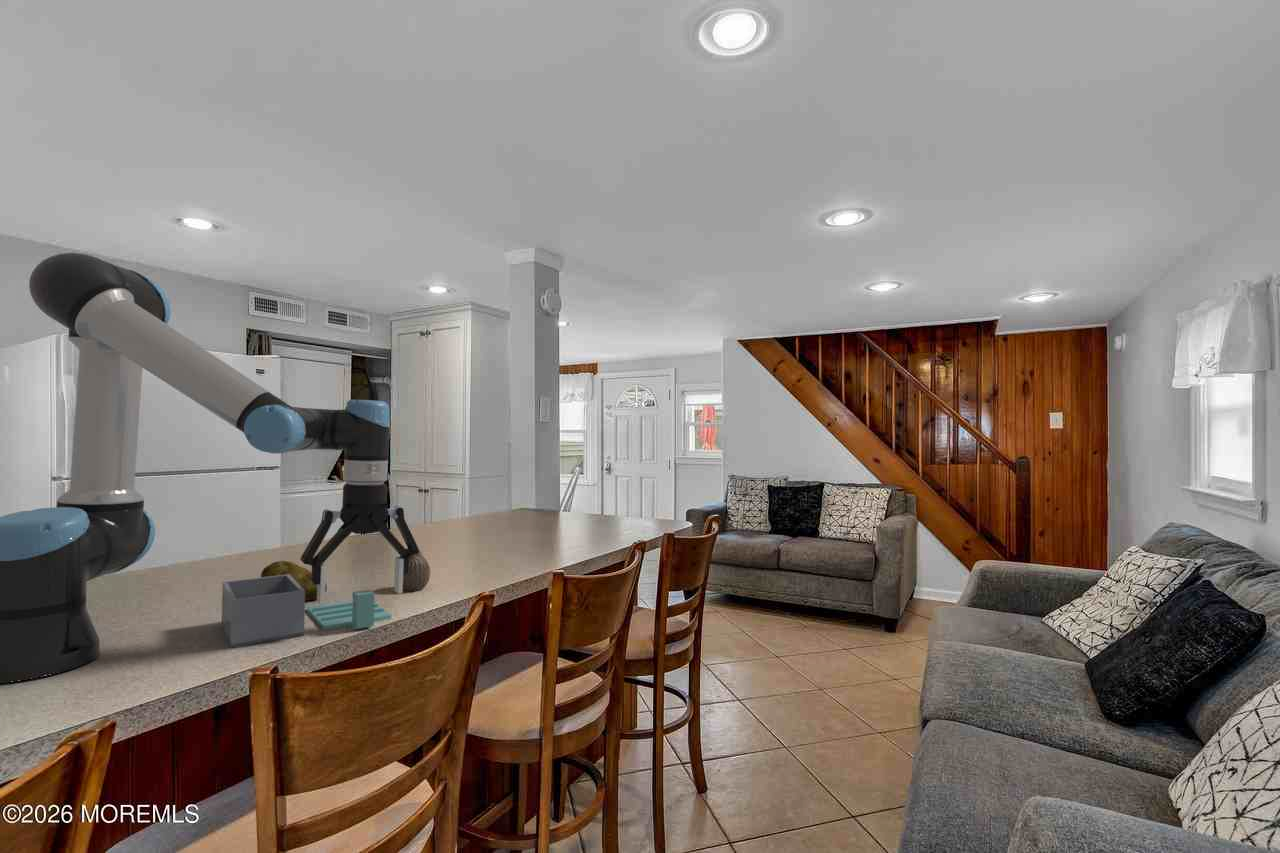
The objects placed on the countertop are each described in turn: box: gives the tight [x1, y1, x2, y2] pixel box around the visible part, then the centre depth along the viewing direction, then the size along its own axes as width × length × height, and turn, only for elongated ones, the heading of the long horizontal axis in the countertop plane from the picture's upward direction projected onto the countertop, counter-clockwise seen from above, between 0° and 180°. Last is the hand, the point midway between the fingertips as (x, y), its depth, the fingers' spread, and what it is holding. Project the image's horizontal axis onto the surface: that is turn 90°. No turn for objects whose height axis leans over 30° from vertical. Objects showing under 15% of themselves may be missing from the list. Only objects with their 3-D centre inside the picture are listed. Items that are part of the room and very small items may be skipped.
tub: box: [221, 574, 306, 648], centre depth 113 cm, size 11×15×8 cm
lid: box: [306, 589, 392, 631], centre depth 122 cm, size 12×20×7 cm, turn 39°
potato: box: [260, 560, 327, 602], centre depth 133 cm, size 8×13×8 cm, turn 71°
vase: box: [403, 550, 431, 592], centre depth 143 cm, size 7×7×9 cm
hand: (360, 596), depth 116 cm, fingers open, 13 cm apart
